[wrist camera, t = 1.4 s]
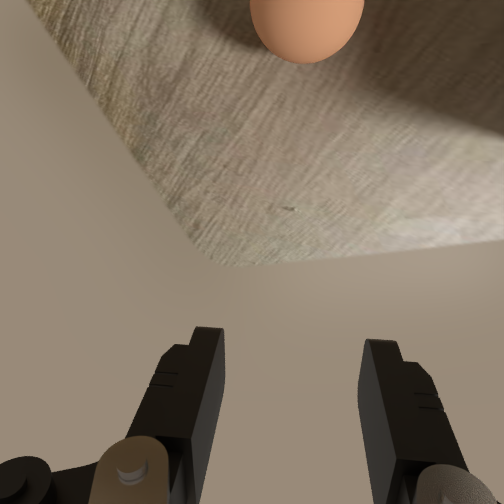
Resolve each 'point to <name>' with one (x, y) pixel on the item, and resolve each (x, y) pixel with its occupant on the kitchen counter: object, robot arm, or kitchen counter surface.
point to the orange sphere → (305, 26)
